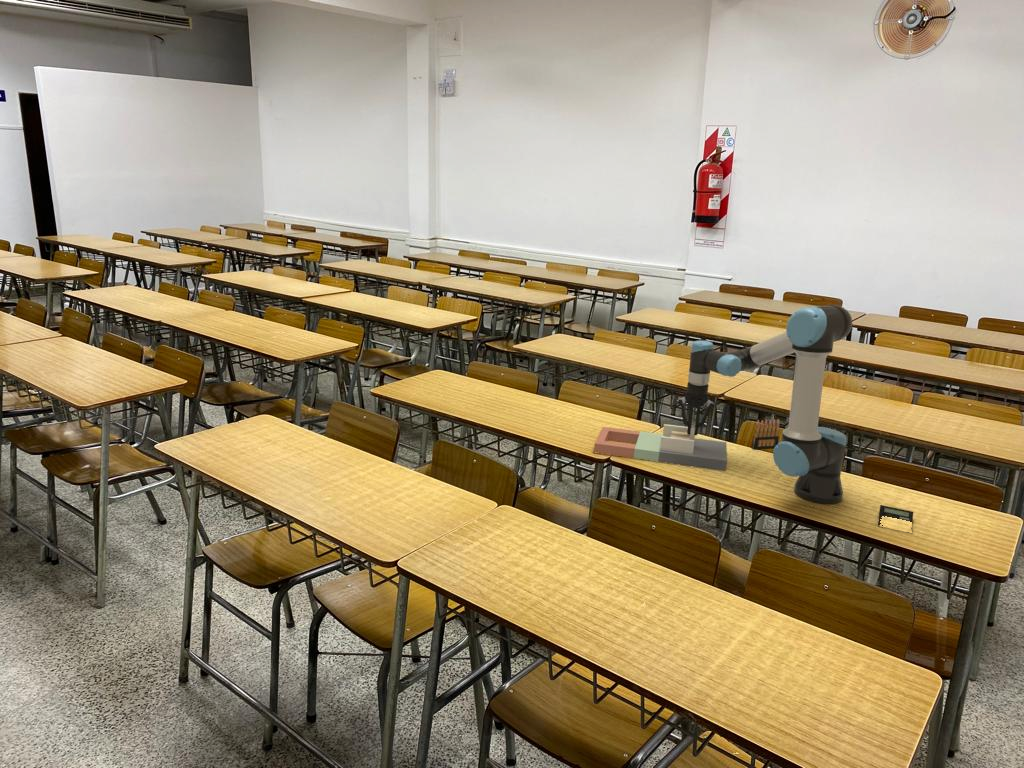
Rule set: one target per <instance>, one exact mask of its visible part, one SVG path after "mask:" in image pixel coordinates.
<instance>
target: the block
mask: <svg viewBox="0 0 1024 768" xmlns="http://www.w3.org/2000/svg"><path fill="white" fill-rule="evenodd" d="M671 437H673V438H681V439H689V440H690V435H688V434H687V433H684V432H676V431H672V433H671Z"/></svg>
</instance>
